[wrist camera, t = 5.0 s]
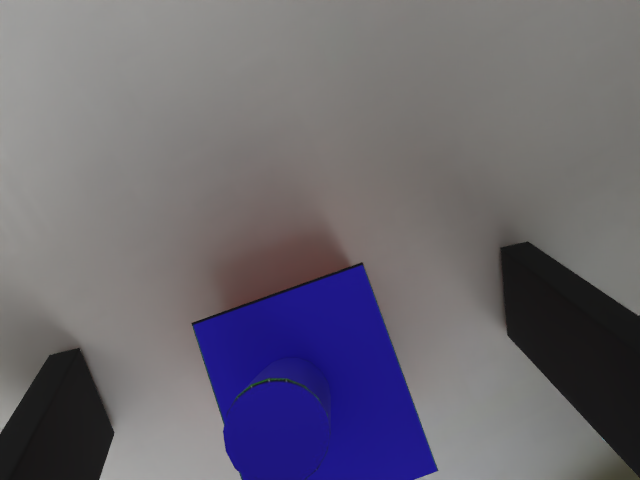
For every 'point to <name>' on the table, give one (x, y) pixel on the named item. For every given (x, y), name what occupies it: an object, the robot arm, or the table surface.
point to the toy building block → (313, 386)
